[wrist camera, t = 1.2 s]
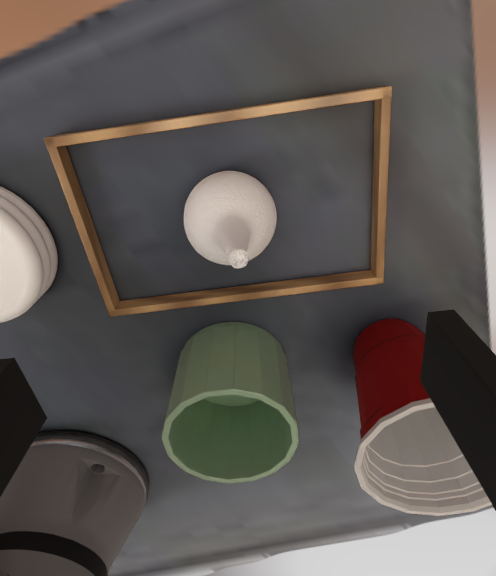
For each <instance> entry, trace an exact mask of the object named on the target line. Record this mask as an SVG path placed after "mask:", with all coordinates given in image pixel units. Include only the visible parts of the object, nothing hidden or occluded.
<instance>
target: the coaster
mask: <svg viewBox="0 0 496 576" xmlns="http://www.w3.org/2000/svg"><path fill="white" fill-rule="evenodd" d="M57 265H58V255H57V249H56V245H55V242H54V239H53V237H52V235H51V233H50V230H49V229H48V227H47V225H46V224H45V222H44V221H43V220H42V218H41V217H40V216H39V215H38V213H37V212H36V211H35V210H34V209H33V208H32V207H31V206H30V205H29V204H27V203H26V202H25V201H24V200H23V199H21V198H20V197H18V196H17V195H15V194H14V193H13V192H11V191H9V190H7V189H5V188H3V187H1V186H0V323H1V322H6V321H9V320H12V319H14V318H16V317H18V316H20V315H22V314H23V313H25V312H26V311H28V310H29V309H30V308H31V307H32V306H33V305H34V303H35V302H36V301H37V300H38V299H39V298H40V297H41V296H42V295H43V294H44V293H45V292H46V291H47V290H48V289H49V287H50V286H51V284H52V282H53V280H54V278H55V275H56V271H57Z"/></svg>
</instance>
